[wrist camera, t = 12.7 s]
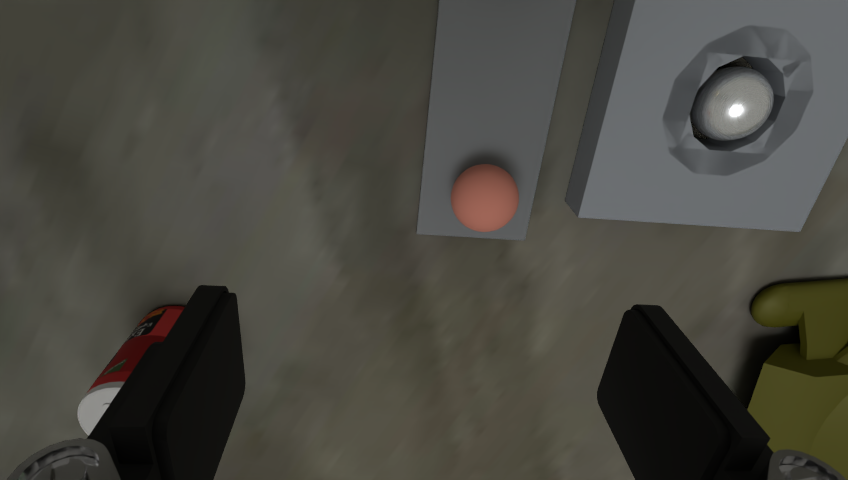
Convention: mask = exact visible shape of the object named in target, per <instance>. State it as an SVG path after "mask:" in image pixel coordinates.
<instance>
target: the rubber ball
mask: <svg viewBox="0 0 848 480" xmlns="http://www.w3.org/2000/svg"><path fill="white" fill-rule="evenodd" d="M518 203H519V192H518V188H517V185H516V183H515V181H514V179H513V178H512V177H511V175H510V174H509V173H508V172H506V171H505V170H504V169H502V168H500V167H498V166H495V165H491V164H480V165H475V166H472V167H470V168H468V169H467V170H465V171H464V172H463V173H462V174H461V175H460V176H459V177H458V178H457V179H456V181H455V183H454V185H453V188H452V191H451V205H452V209H453V212H454V214H455V216H456V217H457V219H458V220H459V221H460V222H461V223H462V224H463V225H465V226H466V227H468V228H470V229H472V230H474V231H479V232H490V231H495V230H497V229H500V228H502V227H503V226H505V225H506V224H507V223H508V222H509V221H510V220H511V219H512V218H513V216H514V214H515V213H516V210H517V207H518Z"/></svg>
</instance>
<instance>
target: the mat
mask: <svg viewBox="0 0 848 480" xmlns="http://www.w3.org/2000/svg"><path fill="white" fill-rule="evenodd" d="M575 4H576V0H439V6H438V16H437V27H436V37H435V47H434V57H433V68H432V78H431V88H430V98H429V108H428V119H427V129H426V139H425V149H424V159H423V170H422V180H421V190H420V200H419V211H418V221H417V231H416V233H417V234H426V235H443V236H459V237H476V238H493V239H509V240H525V237H526V233H527V228H528V223H529V219H530V214H531V209H532V205H533V200H534V195H535V191H536V186H537V181H538V177H539V172H540V167H541V163H542V158H543V153H544V149H545V144H546V139H547V135H548V130H549V125H550V121H551V116H552V111H553V107H554V102H555V97H556V93H557V88H558V83H559V79H560V74H561V69H562V65H563V60H564V55H565V51H566V46H567V41H568V37H569V32H570V27H571V23H572V18H573V13H574V9H575ZM480 164H491V165H495V166H498V167H500V168H502V169H504V170H505V171H506V172H508V173H509V174H510V175H511V177H512V178H513V179H514V181H515V183H516V185H517V188H518V192H519V203H518V207H517V210H516V213H515V214H514V216H513V218H512V219H511V220H510V221H509V222H508V223H507V224H506V225H505V226H503V227H502V228H500V229H497V230H495V231H490V232H479V231H474V230H472V229H470V228H468V227H466V226H465V225H463V224H462V223H461V222H460V221H459V220H458V219H457V217H456V216H455V214H454V212H453V209H452V205H451V191H452V188H453V185H454V183H455V181H456V179H457V178H458V177H459V176H460V175H461V174H462V173H463V172H464V171H465V170H467V169H468V168H470V167H472V166H475V165H480Z"/></svg>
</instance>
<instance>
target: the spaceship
mask: <svg viewBox="0 0 848 480" xmlns="http://www.w3.org/2000/svg"><path fill="white" fill-rule="evenodd" d="M751 315H752V317H753V319H754V320H755V321H756V322H757V323H759V324H761V325H762V326H766V327H785V326H798V325H799V334H800V343H797V344H784V345H780V346H779V347H778V348H777V350H776V351H775V352H774V353H773V354H772V355H771V356H770V357H769V358H768V359H767V360H766V361H765V362H764V364H763V367H762V370H761V373H760V376H759V378H758V381H757V384H756V387H755V390H754V393H753V395H752V398H751V401H750V404H749V407H748V409H747V410H748V412H749V413H750V414H751V415H752V417H753V418H754V419H755V420H756V421H757V423H758V424H759V425H760V426H761V427H762V429H763V430H764V431H765V432H766V433H767V435H768V436H769V437H770V438H771V439H770V440H769V442H768V444H767V445H768V446H769V447H770V449H771V450H772V451H773V452H774V453H775V452H777V451H778V450H786V449H790V450H795V451H800V452H803V453H806V454H809V455H811V456H814V457H816V458H818V459H819V460H821V461H823V462H825V463H826V464H828V465H830V466H831V467H832V468H834V469H835V470H836V471H838V472H839V473H840V474H841V475H842V476H843V477H844V478H845V479H846V480H848V278H845V279H832V280H819V281H806V282H793V283H781V284H777V285H773V286H770V287H768V288H766V289H764V290H762V291H761V292H760V293H759V294H758V295H757V296H756V297H755V299H754V301H753V303H752V307H751Z"/></svg>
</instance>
